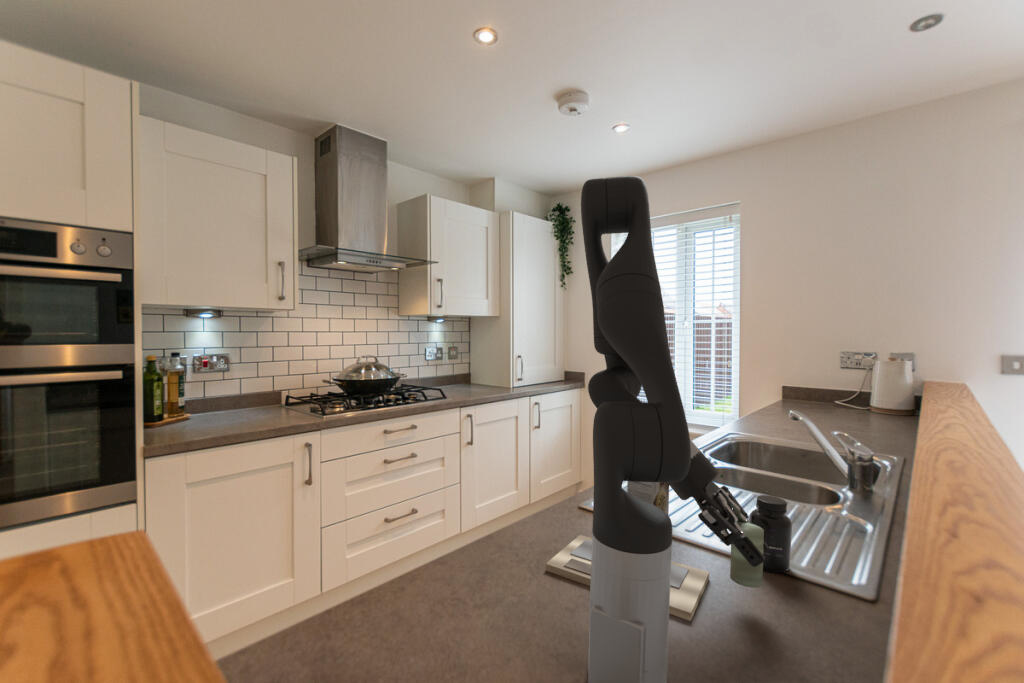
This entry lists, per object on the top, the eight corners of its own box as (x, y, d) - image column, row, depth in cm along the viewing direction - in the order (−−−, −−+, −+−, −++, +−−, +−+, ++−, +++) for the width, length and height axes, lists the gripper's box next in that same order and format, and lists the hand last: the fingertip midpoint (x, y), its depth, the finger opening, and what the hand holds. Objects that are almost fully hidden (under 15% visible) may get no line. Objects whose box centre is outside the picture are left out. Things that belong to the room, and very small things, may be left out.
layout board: (690, 621, 67) (691, 611, 67) (545, 570, 80) (545, 562, 80) (708, 578, 79) (709, 570, 79) (579, 540, 92) (579, 533, 92)
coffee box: (642, 511, 108) (644, 442, 108) (669, 518, 104) (671, 447, 104) (624, 523, 101) (627, 449, 101) (653, 531, 97) (655, 455, 97)
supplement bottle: (767, 576, 80) (770, 507, 80) (738, 557, 87) (741, 493, 87) (799, 571, 82) (802, 504, 82) (768, 553, 89) (771, 491, 89)
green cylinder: (761, 590, 68) (762, 536, 68) (728, 581, 70) (729, 529, 70) (763, 578, 72) (764, 526, 72) (732, 570, 74) (733, 520, 74)
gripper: (688, 458, 69) (779, 562, 62) (706, 442, 81) (784, 528, 74) (651, 487, 72) (735, 589, 65) (674, 467, 84) (746, 552, 77)
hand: (760, 556), depth 70 cm, fingers closed on green cylinder, 4 cm apart
